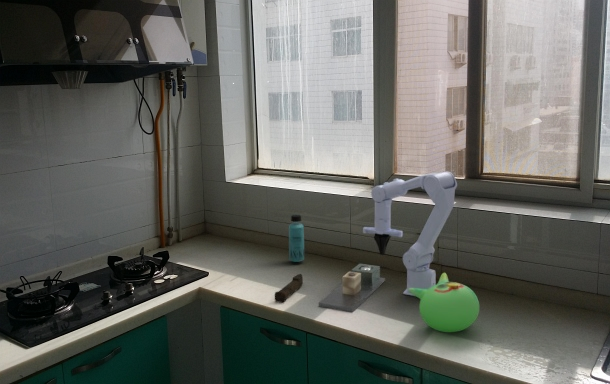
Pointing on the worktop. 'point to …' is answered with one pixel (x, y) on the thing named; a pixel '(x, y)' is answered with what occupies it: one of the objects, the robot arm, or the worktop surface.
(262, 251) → the worktop surface
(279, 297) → the hand tool
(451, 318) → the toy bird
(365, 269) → the press pin
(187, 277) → the worktop surface
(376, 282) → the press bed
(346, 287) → the block
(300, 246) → the beverage bottle
